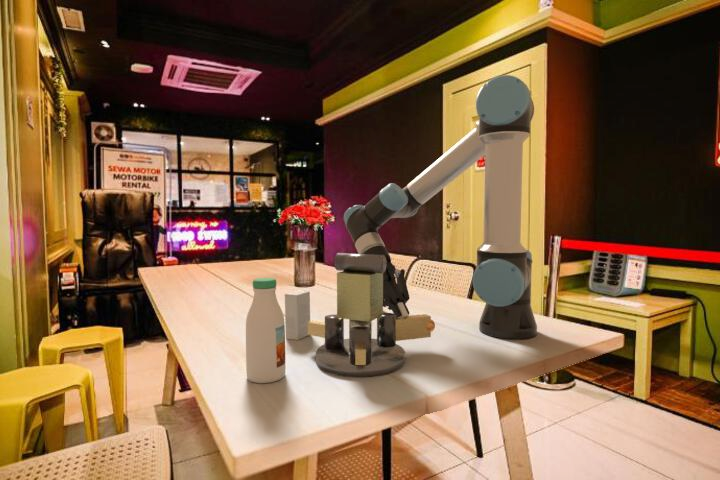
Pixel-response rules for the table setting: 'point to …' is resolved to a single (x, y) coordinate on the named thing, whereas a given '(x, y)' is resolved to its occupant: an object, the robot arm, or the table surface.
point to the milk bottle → (265, 334)
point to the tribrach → (356, 321)
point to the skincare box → (297, 314)
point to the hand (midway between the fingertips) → (408, 327)
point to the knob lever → (402, 328)
